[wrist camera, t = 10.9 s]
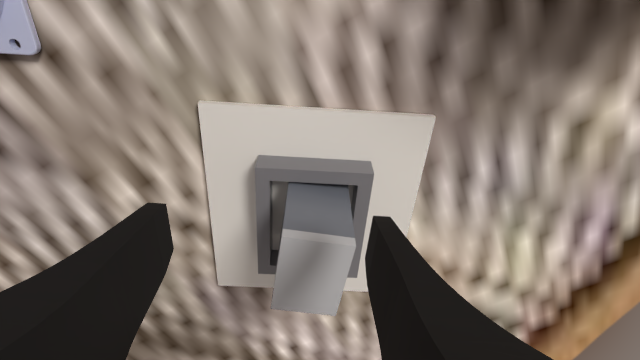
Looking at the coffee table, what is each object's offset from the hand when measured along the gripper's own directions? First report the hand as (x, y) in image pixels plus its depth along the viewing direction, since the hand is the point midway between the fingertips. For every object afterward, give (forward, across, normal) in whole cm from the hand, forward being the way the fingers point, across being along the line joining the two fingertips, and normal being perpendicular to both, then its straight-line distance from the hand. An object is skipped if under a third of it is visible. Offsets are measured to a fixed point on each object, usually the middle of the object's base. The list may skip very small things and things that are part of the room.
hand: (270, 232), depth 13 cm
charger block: (+9, -2, +5) cm, 11 cm away
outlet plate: (+9, -2, +6) cm, 11 cm away
